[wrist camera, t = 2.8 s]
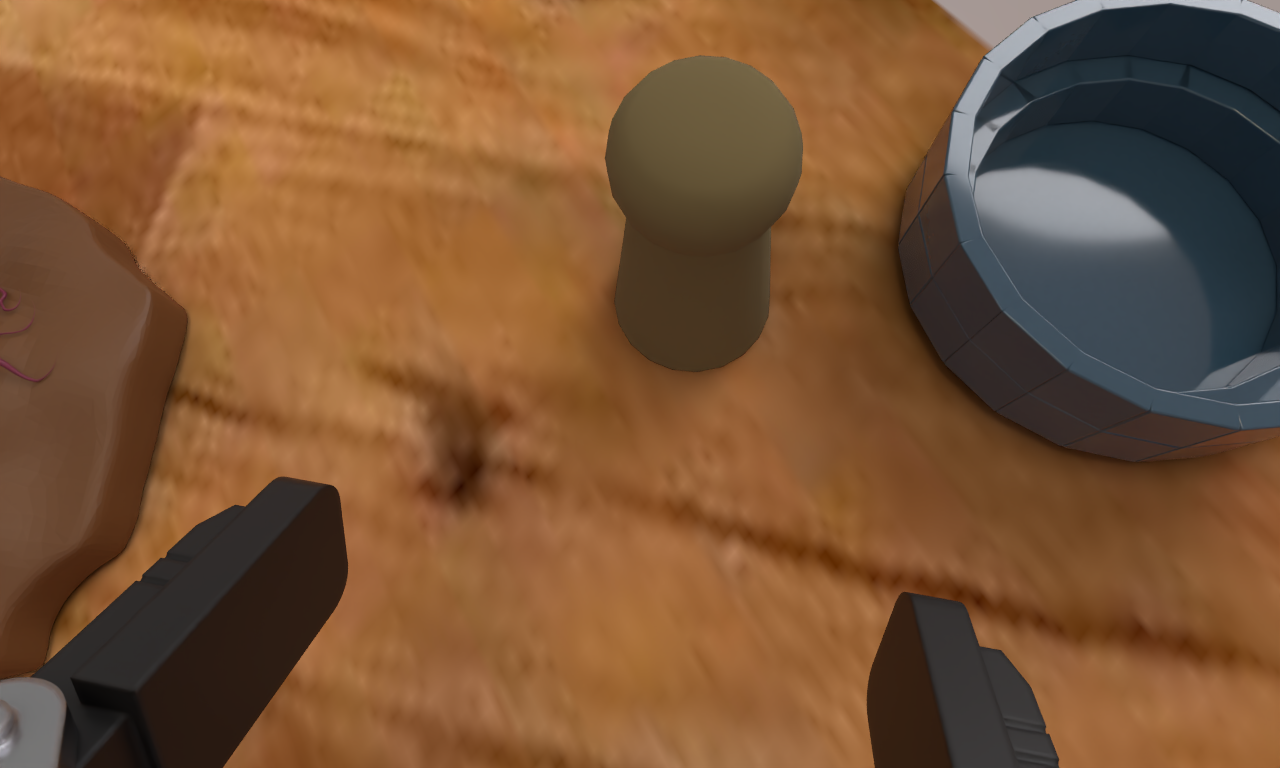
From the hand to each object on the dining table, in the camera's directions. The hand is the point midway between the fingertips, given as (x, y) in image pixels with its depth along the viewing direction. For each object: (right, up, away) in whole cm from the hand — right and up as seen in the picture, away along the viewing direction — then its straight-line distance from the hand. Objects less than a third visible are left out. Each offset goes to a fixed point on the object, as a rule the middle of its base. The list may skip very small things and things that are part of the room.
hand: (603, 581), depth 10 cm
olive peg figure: (+3, +6, +18) cm, 19 cm away
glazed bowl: (+18, +7, +18) cm, 26 cm away
